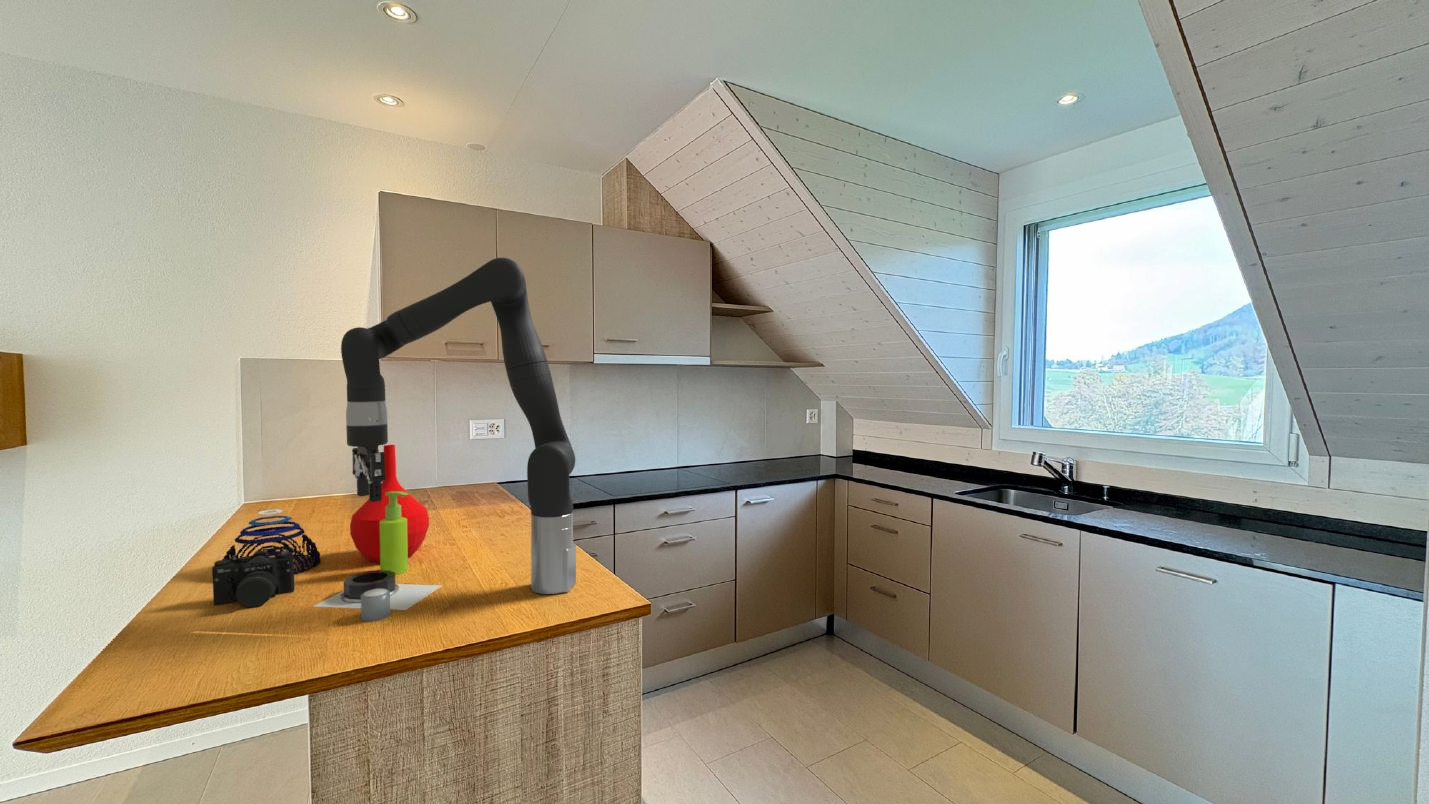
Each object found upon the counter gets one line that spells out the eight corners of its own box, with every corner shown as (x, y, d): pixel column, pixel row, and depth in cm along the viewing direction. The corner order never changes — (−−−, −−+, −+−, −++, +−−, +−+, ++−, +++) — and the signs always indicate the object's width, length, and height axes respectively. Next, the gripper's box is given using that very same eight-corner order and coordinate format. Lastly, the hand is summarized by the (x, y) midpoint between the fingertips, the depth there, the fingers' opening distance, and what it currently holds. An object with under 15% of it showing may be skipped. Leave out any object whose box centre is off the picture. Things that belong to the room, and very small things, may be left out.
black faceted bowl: (409, 585, 134) (409, 570, 133) (378, 603, 123) (378, 587, 122) (363, 583, 134) (362, 568, 134) (328, 602, 123) (327, 585, 123)
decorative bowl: (219, 589, 132) (217, 526, 131) (217, 567, 147) (216, 510, 146) (325, 570, 145) (324, 513, 144) (313, 552, 160) (312, 499, 159)
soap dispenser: (399, 578, 139) (398, 495, 138) (374, 576, 140) (373, 493, 140) (417, 570, 145) (415, 490, 144) (392, 568, 146) (391, 489, 145)
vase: (356, 573, 142) (353, 451, 141) (345, 555, 157) (343, 444, 155) (437, 559, 154) (435, 446, 152) (420, 543, 168) (419, 440, 167)
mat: (442, 587, 134) (442, 585, 134) (405, 611, 120) (405, 609, 120) (358, 584, 135) (358, 582, 135) (312, 608, 121) (312, 606, 121)
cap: (395, 613, 119) (395, 588, 118) (380, 624, 114) (379, 597, 113) (372, 612, 119) (371, 587, 119) (355, 623, 114) (354, 596, 114)
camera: (201, 617, 116) (200, 568, 116) (217, 599, 126) (216, 553, 125) (287, 605, 123) (286, 558, 122) (296, 589, 132) (295, 545, 132)
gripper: (397, 423, 122) (399, 500, 123) (376, 420, 132) (378, 491, 133) (356, 425, 117) (359, 506, 117) (337, 422, 127) (339, 496, 127)
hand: (369, 498), depth 125 cm, fingers open, 8 cm apart
